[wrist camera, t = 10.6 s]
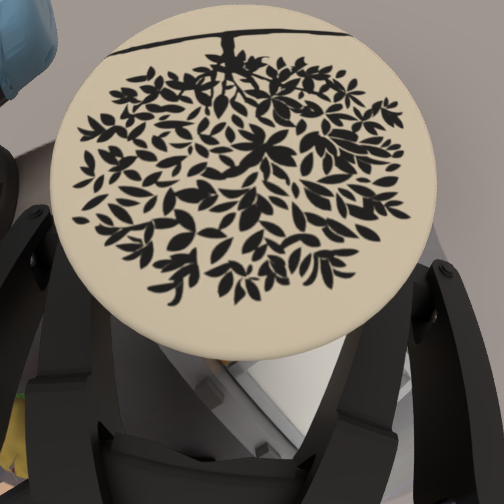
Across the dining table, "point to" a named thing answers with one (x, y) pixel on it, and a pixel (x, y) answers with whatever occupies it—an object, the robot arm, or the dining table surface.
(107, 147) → the travel mug
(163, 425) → the dining table surface
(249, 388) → the grey orange flat box
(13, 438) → the hamburger
